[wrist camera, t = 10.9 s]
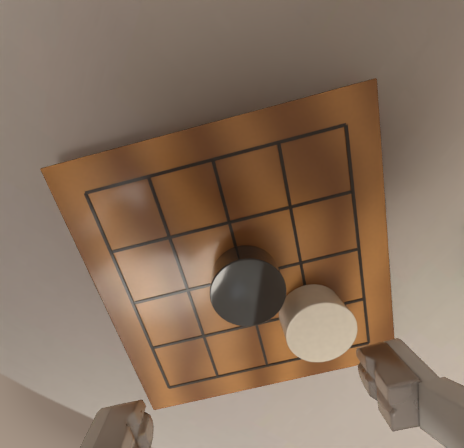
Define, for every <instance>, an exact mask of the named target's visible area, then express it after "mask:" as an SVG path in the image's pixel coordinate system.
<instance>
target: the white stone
mask: <svg viewBox="0 0 464 448" xmlns="http://www.w3.org/2000/svg"><path fill="white" fill-rule="evenodd" d="M279 321H280V324H281V327H282V330H283V333H284V336H285V339H286V342H287V345H288V347H289V349H290V350H291V351H292V352H293V353H294V354H295V355H296V356H297V357H299V358H301V359H303V360H305V361H309V362H325V361H330V360H333V359H335V358H337V357H339V356H341V355H342V354H344V353H345V352H346V351H347V350H348V349H349V348H350V347H351V346H352V344H353V343H354V341H355V338H356V335H357V321H356V319H355V317H354V315H353V313H352V312H351V311H350V310H349V309H348V307H347V306H346V305H345V304H344V302H343V301H342V300H341V299H340V298H339V296H338V295H337V294H336V293H335V292H334V291H333V290H331V289H330V288H328V287H326V286H323V285H318V284H309V285H304V286H301V287H299V288H296V289H295V290H293V291H292V292H290V293H289V294H288V295H287V296H286V298H285V302H284V304H283V306H282V308H281V309H280V311H279Z"/></svg>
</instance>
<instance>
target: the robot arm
mask: <svg viewBox="0 0 464 448" xmlns="http://www.w3.org/2000/svg"><path fill="white" fill-rule="evenodd" d="M356 356H357V358H358V359H359V361H360V363H359V365H358V370H359V375H360V378H361V380H362V383H363V385H364V387H365V389H366V390H367V392H368V394H369V395H370V396H371V397H372V398H374V399H375V400H377V401H378V409H379V411H380V413H381V414H382V416H383V417H384V419H385V420H386V422H387V424H388V425H389V427H390V428H391V430H392V431H397V430H402V429H408V428H413V427H418V426H420V428H421V429H422V430H423V431H425V432H426V433H427V434H429V435H430V436H431V437H433V438H434V439H435V440H437V441H438V442H439V443H441V444H442V445H444V446H445V447H446V448H464V386H463V385H461V384H458V383H456V382H454V381H452V380H450V379H448V378H446V377H442V378H439V377H438V376H437V375H436V374H435V373H434V372H433V371H432V370H431V369H430V368H429V367H428V366H427V365H426V364H425V363H424V362H423V361H422V360H421V359H420V358H419V357H418V356H417V355H416V354H415V353H414V352H413V351H412V350H411V349H410V348H409V347H408V346H407V345H406V344H405V343H404V342H403V341H402V340H400V339H398V338H396V339H392V340H388V341H384V342H379V343H375V344H371V345H367V346H363V347H359V348H357V349H356ZM145 408H146V405H145V403H144V402H143V400H138V401H133V402H128V403H123V404H118V405H114V406H110V407H105V408H101V409H100V410H99V411H98V412H97V414H96V416H95V418H94V420H93V422H92V424H91V426H90V428H89V430H88V432H87V434H86V436H85V438H84V440H83V442H82V444H81V446H80V448H150V447H151V444H152V440H153V428H154V426H153V421H152V418H151V416H150V415H149V414H148V413H146V412H144V411H145Z"/></svg>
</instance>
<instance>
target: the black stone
mask: <svg viewBox="0 0 464 448" xmlns="http://www.w3.org/2000/svg"><path fill="white" fill-rule="evenodd" d="M285 298H286V283H285V280H284V278H283V276H282V274H281V272H280V270H279V268H278V266H277V263H276V261H275V260H274V258H273V257H272V256H271V255H270V254H269V253H268V252H267V251H265V250H263V249H261V248H259V247H256V246H251V245H241V246H237V247H233V248H231V249H229V250H227V251H226V252H224V253H223V254H222V255H221V256H220V257H219V258H218V259H217V261H216V262H215V264H214V266H213V269H212V275H211V283H210V300H211V304H212V306H213V308H214V310H215V311H216V312H217V314H218V315H219V316H220V317H221V318H223V319H224V320H226V321H227V322H229V323H232V324H235V325H238V326H255V325H259V324H262V323H264V322H266V321H268V320H270V319H271V318H273V317H274V316H275V315H276V314H277V313H278V312H279V311H280V309H281V308H282V306H283V304H284V302H285Z"/></svg>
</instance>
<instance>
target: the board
mask: <svg viewBox="0 0 464 448" xmlns="http://www.w3.org/2000/svg"><path fill="white" fill-rule="evenodd" d="M40 170H41V172H42V174H43V176H44V178H45V180H46V182H47V184H48V187H49V189H50V191H51V193H52V195H53V197H54V199H55V201H56V204H57V206H58V208H59V210H60V212H61V214H62V216H63V218H64V221H65V223H66V225H67V227H68V229H69V231H70V233H71V235H72V237H73V240H74V242H75V244H76V246H77V248H78V250H79V252H80V254H81V257H82V259H83V261H84V263H85V265H86V267H87V269H88V271H89V274H90V276H91V278H92V280H93V282H94V284H95V286H96V288H97V291H98V293H99V295H100V297H101V299H102V301H103V303H104V305H105V308H106V310H107V312H108V314H109V316H110V318H111V320H112V322H113V324H114V327H115V329H116V331H117V333H118V335H119V337H120V339H121V341H122V344H123V346H124V348H125V350H126V352H127V354H128V356H129V358H130V361H131V363H132V365H133V367H134V369H135V371H136V373H137V375H138V378H139V380H140V382H141V384H142V386H143V388H144V390H145V392H146V394H147V397H148V399H149V401H150V403H151V405H152V407H153V409H154V410H157V409H161V408H166V407H170V406H175V405H179V404H184V403H188V402H193V401H197V400H202V399H206V398H211V397H215V396H220V395H224V394H229V393H234V392H238V391H243V390H247V389H252V388H256V387H261V386H265V385H270V384H274V383H279V382H283V381H288V380H292V379H297V378H301V377H306V376H311V375H315V374H320V373H324V372H329V371H333V370H338V369H342V368H347V367H351V366H356V365H359V363H360V361H359V359H358V358H357V356H356V349H357V348H359V347H363V346H367V345H371V344H375V343H379V342H384V341H388V340H392V339H394V327H393V312H392V298H391V283H390V268H389V253H388V238H387V223H386V208H385V193H384V179H383V164H382V149H381V134H380V119H379V104H378V89H377V79H376V78H375V79H371V80H367V81H364V82H360V83H356V84H353V85H349V86H345V87H341V88H338V89H334V90H330V91H327V92H323V93H319V94H315V95H312V96H308V97H304V98H301V99H297V100H293V101H289V102H286V103H282V104H278V105H275V106H271V107H267V108H263V109H260V110H256V111H252V112H249V113H245V114H241V115H237V116H234V117H230V118H226V119H223V120H219V121H215V122H211V123H208V124H204V125H200V126H197V127H193V128H189V129H185V130H182V131H178V132H174V133H170V134H167V135H163V136H159V137H156V138H152V139H148V140H144V141H141V142H137V143H133V144H130V145H126V146H122V147H118V148H115V149H111V150H107V151H104V152H100V153H96V154H92V155H89V156H85V157H81V158H78V159H74V160H70V161H66V162H63V163H59V164H55V165H52V166H48V167H44V168H41V169H40ZM241 245H251V246H256V247H259V248H261V249H263V250H265V251H267V252H268V253H269V254H270V255H271V256H272V257H273V258H274V260H275V261H276V263H277V266H278V268H279V270H280V272H281V274H282V276H283V278H284V280H285V283H286V296H287V295H288V294H289V293H290V292H292V291H293V290H295V289H296V288H299V287H301V286H304V285H309V284H318V285H323V286H326V287H328V288H330V289H331V290H333V291H334V292H335V293H336V294H337V295H338V296H339V298H340V299H341V300H342V301H343V302H344V304H345V305H346V306H347V307H348V309H349V310H350V311H351V312H352V313H353V315H354V317H355V319H356V321H357V335H356V338H355V341H354V343H353V344H352V346H351V347H350V348H349V349H348V350H347V351H346V352H345V353H344V354H342V355H341V356H339V357H337V358H335V359H333V360H330V361H325V362H309V361H305V360H303V359H301V358H299V357H297V356H296V355H295V354H294V353H293V352H292V351H291V350H290V349H289V347H288V345H287V342H286V339H285V336H284V333H283V330H282V327H281V324H280V321H279V312H278V313H277V314H276V315H275V316H274V317H273V318H271V319H270V320H268V321H266V322H264V323H262V324H259V325H255V326H238V325H235V324H232V323H229V322H227V321H226V320H224V319H223V318H221V317H220V316H219V315H218V314H217V312H216V311H215V310H214V308H213V306H212V304H211V300H210V283H211V275H212V269H213V266H214V264H215V262H216V261H217V259H218V258H219V257H220V256H221V255H222V254H223V253H224V252H226V251H227V250H229V249H231V248H233V247H237V246H241Z"/></svg>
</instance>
